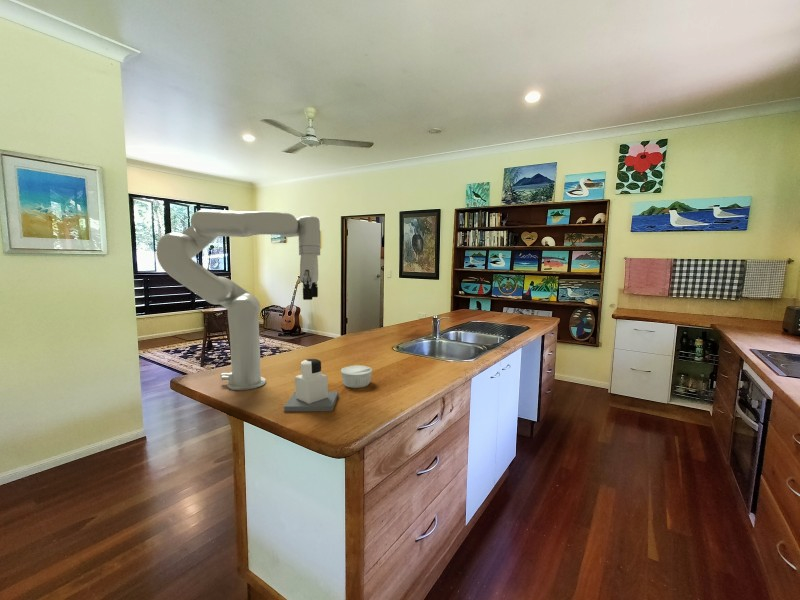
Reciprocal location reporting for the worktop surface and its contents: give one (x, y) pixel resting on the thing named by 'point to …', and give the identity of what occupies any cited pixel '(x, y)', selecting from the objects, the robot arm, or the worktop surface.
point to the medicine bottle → (311, 382)
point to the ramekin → (356, 376)
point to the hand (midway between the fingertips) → (310, 298)
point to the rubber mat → (319, 405)
